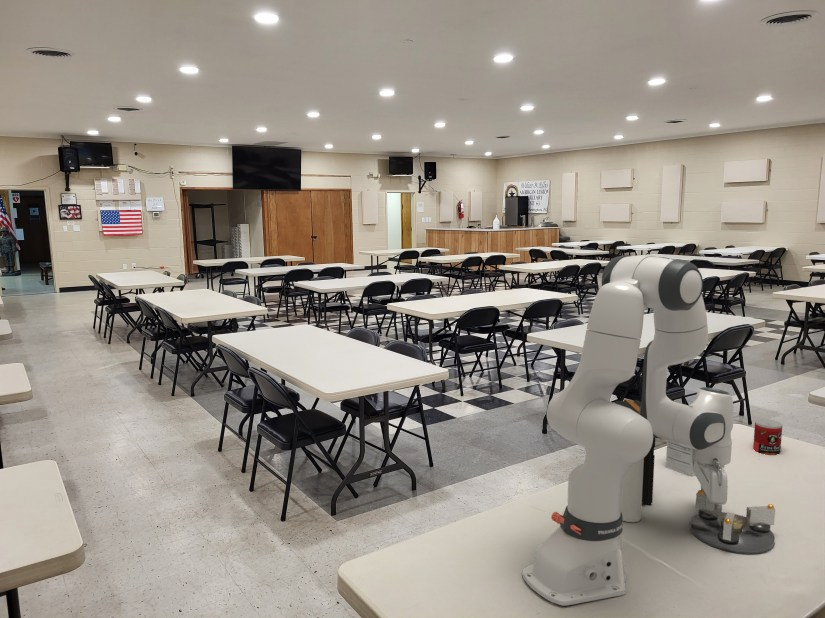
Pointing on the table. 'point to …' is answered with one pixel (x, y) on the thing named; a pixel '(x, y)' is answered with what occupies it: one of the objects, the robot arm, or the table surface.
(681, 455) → the supplement box
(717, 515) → the knob left
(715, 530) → the plate
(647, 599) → the table surface
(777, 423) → the canned food
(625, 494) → the paper towel roll
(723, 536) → the knob near
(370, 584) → the table surface
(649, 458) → the voltmeter
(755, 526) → the grey lever knob
